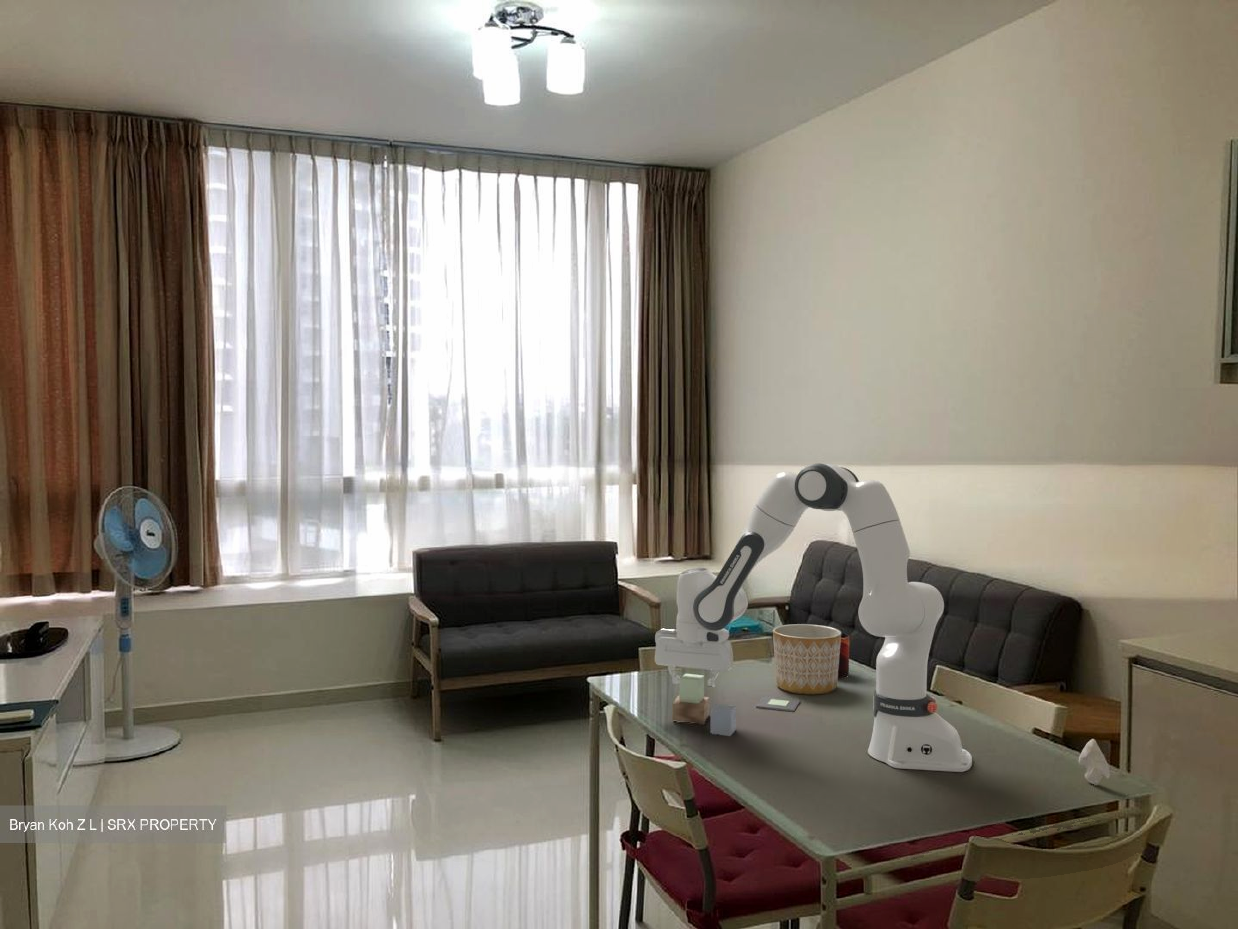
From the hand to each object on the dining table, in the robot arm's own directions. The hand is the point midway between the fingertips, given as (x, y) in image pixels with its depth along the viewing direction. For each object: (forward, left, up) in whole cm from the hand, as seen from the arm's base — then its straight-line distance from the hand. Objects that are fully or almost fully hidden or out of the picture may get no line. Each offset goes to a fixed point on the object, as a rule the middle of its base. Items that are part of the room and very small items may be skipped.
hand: (693, 684), depth 246 cm
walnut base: (+1, 0, -9) cm, 9 cm away
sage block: (0, 0, -4) cm, 4 cm away
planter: (-22, -40, -9) cm, 47 cm away
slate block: (-10, +8, -9) cm, 15 cm away
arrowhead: (-91, +14, -9) cm, 93 cm away
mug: (-26, -60, -9) cm, 66 cm away
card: (-18, -20, -9) cm, 28 cm away
